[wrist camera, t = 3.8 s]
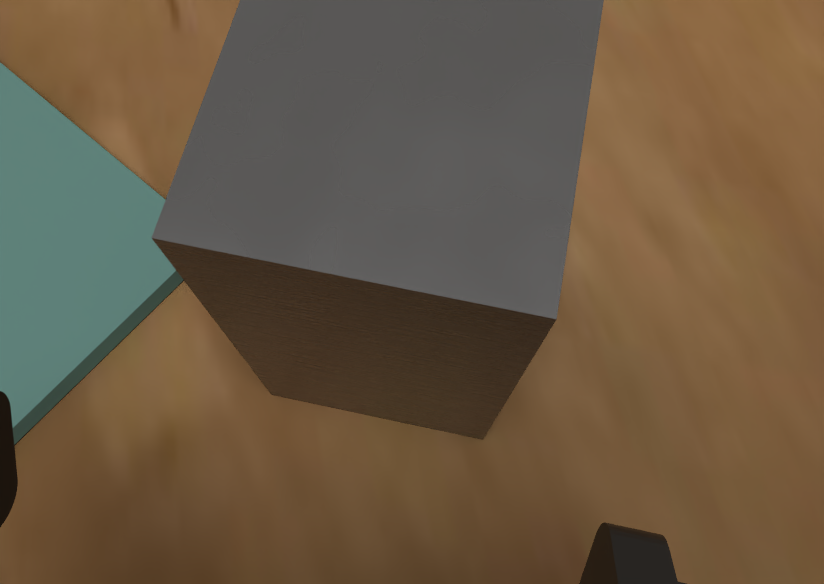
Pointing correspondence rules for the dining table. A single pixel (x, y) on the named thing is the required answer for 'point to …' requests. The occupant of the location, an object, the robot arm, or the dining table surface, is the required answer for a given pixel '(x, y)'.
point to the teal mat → (67, 253)
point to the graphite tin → (387, 197)
